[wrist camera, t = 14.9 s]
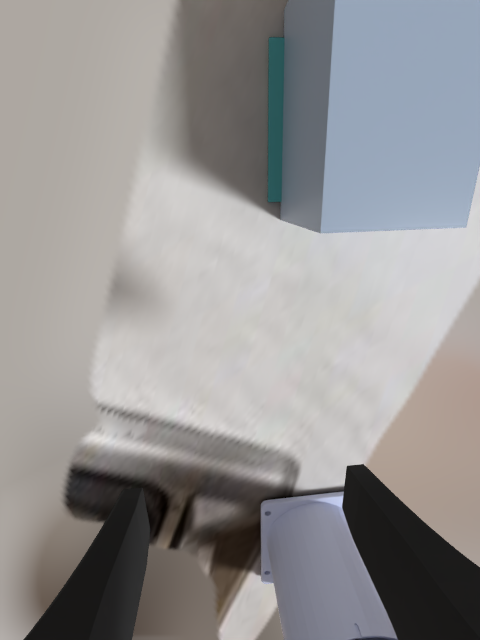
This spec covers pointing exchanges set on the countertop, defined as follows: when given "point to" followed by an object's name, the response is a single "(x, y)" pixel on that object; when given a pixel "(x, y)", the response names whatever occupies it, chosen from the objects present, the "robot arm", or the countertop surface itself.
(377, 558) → the robot arm
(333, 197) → the matte gray cuboid
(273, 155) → the mark
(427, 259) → the countertop surface
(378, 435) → the countertop surface
